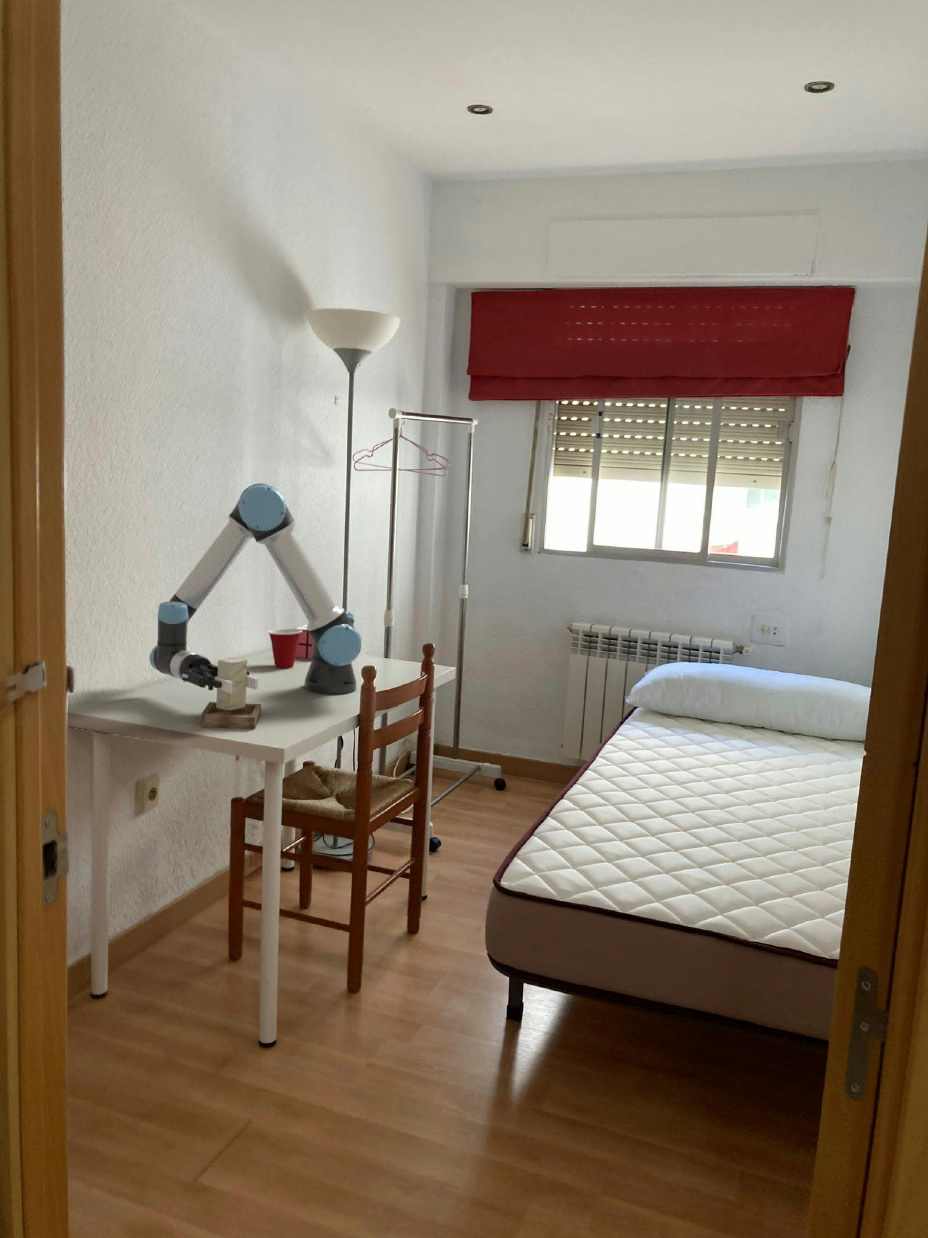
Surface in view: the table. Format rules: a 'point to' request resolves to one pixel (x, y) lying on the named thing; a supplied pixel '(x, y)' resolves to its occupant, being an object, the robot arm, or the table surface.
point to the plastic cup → (284, 646)
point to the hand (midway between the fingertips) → (243, 685)
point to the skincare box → (238, 675)
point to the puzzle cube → (304, 644)
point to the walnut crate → (230, 717)
